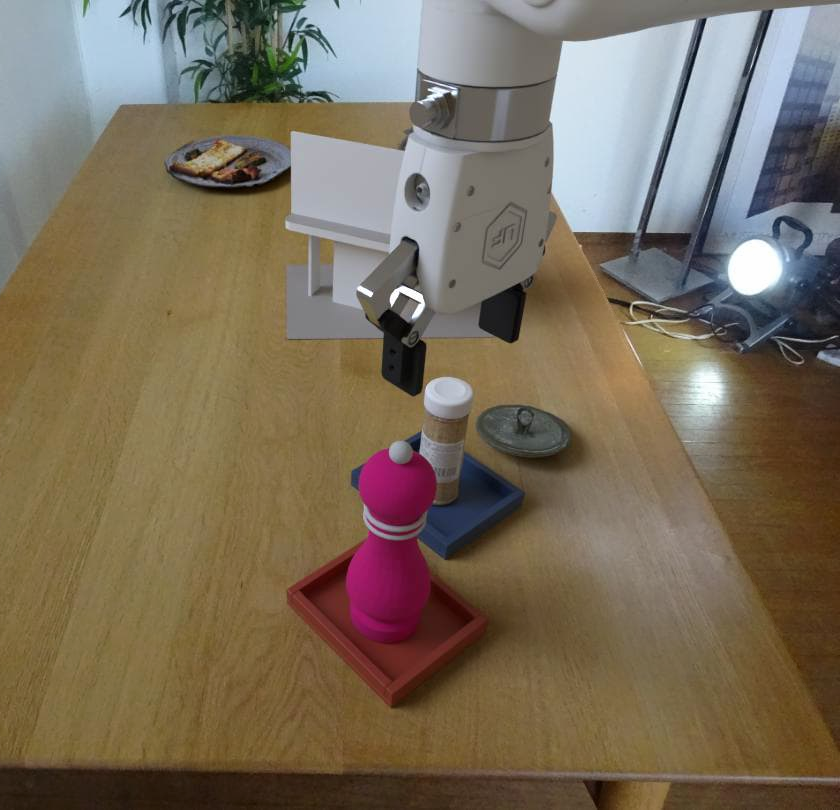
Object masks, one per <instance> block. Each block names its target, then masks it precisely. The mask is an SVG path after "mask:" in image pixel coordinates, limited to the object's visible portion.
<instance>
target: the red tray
mask: <svg viewBox="0 0 840 810" xmlns="http://www.w3.org/2000/svg"><path fill="white" fill-rule="evenodd" d="M366 539H367V537H366V538H365V539H363V540H361V541H360V542H358V543H357V544H355V545H354V546H352V547H350V548H349V549H347V550H346V551H344V552H342V553H341V554H340V555H338V556H336V557H335V558H333V559H332V560H330V561H329V562H327V563H326V564H324V565H322V566H321V567H319V568H318V569H316V570H315V571H313V572H311V573H309V574H308V575H307V576H305V577H304V578H302V579H300V580H299V581H297V582H295V583H294V584H293V585H291V586H289V587H287V589H286V604H287V605H288V606H289V607H290V608H291V609H292V610H293V611H294V613H296V614H297V615H298V616H299V617H300V618H301V619H302V620H303V621H304V622H305V623H306V624H307V625H308V626H309V628H311V629H312V630H313V631H314V632H315V634H316V635H318V636H319V637H320V639H322V641H324V642H325V644H326V645H328V646H329V647H330V648H331V649H332V650H333V651H334V653H336V655H337V656H339V657H340V658H341V660H342V661H344V662H345V664H346V665H348V666H349V668H351V670H353V671H354V672H355V674H356V675H357V676H359V678H361V680H362V681H364V683H365V684H366V685H367V686H368V687H369V688H370V689H371V690H372V691H373V692H374V693H375V694H376V695H377V696H378V697H379V698H380V699H381V700H382V701H383V702H384V703H385V704H386V705H387V706H388V707H389V708H391V709H392V708H394V706H395V705H397V704H398V703H399V702H400V701H402V700H403V699H404V698H405V697H407V696H408V695H409V694H411V693H412V692H413V691H414V690H415V689H417V688H418V687H419V686H421V685H422V684H423V683H424V682H426V681H427V680H428V679H429V678H431V677H432V676H433V675H434V674H436V673H437V672H438V671H439V670H441V669H442V668H443V667H444V666H446V665H447V664H448V663H450V662H451V661H452V660H454V659H455V658H456V657H457V656H459V654H461V653H462V652H463V651H465V650H466V649H467V648H468V647H469V646H471V645H472V644H473V643H475V641H477V640H478V639H479V638H481V637H482V636H484V635H485V634H486V633H487V628H488V623H489V617H487V616H486V615H485V614H484V613H483V612H481V611H480V610H479V609H477V607H475V606H474V605H473V604H471V603H470V602H469V601H468V600H467V599H465V598H464V597H463V596H462V595H461V594H459V593H458V592H457V591H456V590H454V589H453V588H452V587H451V586H449V584H447V583H446V582H445V581H443V580H442V579H441V578H440V577H439V576H437V575H436V574H435V573H434V572H433V571H432V570H430V569H429V572H430V594H429V598H428V600H427V602H426V604H425V605H424V607H423V608H422V610H421V618H420V623H419V626H418V628H417V629H416V631H415V632H414V633H413V634H412V635H411V636H410V637H408V638H406V639H404V640H402V641H399V642H394V643H381V642H377V641H373V640H371V639H369V638H367V637H365V636H364V635H363V634H361V633H360V632H359V631H358V630H357V629H356V627H355V626H354V624H353V622H352V620H351V616H350V603H351V599H350V598H349V595H348V593H347V588H346V577H347V572H348V567H349V565H350V562H351V560H352V558H353V556H354V555H355V553H356V552H357V550H358V549H359V548H360V547H361V546H362V545H363V543H364V542H365V540H366Z"/></svg>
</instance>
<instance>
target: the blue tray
mask: <svg viewBox="0 0 840 810" xmlns="http://www.w3.org/2000/svg"><path fill="white" fill-rule="evenodd" d="M421 435H422V430H421V431H418V432H417V433H415V434H413V435H412V436H410V437H408V438H406V439H404V441H405V442H407V443H409V444H410V446H411V447H412V450H413V451H416V452H417V453H420V444H421ZM364 465H365V463H363V464H361V465H359V466H358V467H356V468H354V469H352V470H351V471H350V472H351V473H350V485H351V486H352V487H353V488H354V489H356V490H357V491H358V492H359V478H360V474H361V471H362V468H363V466H364ZM525 495H526V491H524V490H523V489H521V488H520V487H518V486H517V485H515V484H514V483H512V482H510V481H509V480H507V478H505V477H504V476H502V475H500V474H499V473H498V472H496V471H494V470H492V468H490V467H488V466H487V465H485V464H484V463H482V462H481V461H479V460H478V459H477V458H475V457H474V456H472V455H471V454H469V453H468V452H466V451H465V450H464V457H463V463H462V469H461V472H460V477H459V484H458V496H457V498H456V499H455V500H454V501H453V502H451V503H449V504H446V505H431V507H430V508H429V509H428V510H427V516H426V524H425V527H424V528H423V530H422V531H421V532H420V533H419V534H418V535H417V540H418V541H421V542H422V543H423V544H425V545H426V546H427V547H428V548H429V549H430V550H432V551H433V552H434V553H435V554H437V555H438V556H440V558H442V559H443V560H447V559H449V558H450V557H451V556H453V555H454V554H456V553H457V552H459V551H460V550H461V549H463V548H464V547H466V546H467V545H469V544H470V543H471V542H473V541H474V540H476V539H478V537H480V536H481V535H483V534H484V533H486V532H487V531H489V530H490V529H492V528H493V527H495V526H496V525H497V524H498V523H500V522H501V521H503V520H504V519H506V518H507V517H508V516H510V515H512V514H513V513H514V512H515V511H517V510H518V509H520V508H522V507H523V505H524V504H523V503H524V500H525Z"/></svg>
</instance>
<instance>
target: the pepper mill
mask: <svg viewBox="0 0 840 810" xmlns="http://www.w3.org/2000/svg"><path fill="white" fill-rule="evenodd" d="M364 464H365V465H364V466H363V468H362V471H361V474H360V478H359V491H358V492H359V496H360V499H361V501H362V503H363V510H362V511H363V512H362V518H363V521H364V524H365V526H366V528H367V529H368V534H367V537H366V538H367V539H366V538H365V539H366V540H365V539H364V540H365V542H364V543H363V545H362V546H361V547H360V548H359V549H358V550H357V552H356V553H355V555H354V556H353V558H352V560H351V562H350V565H349V567H348V572H347V577H346V588H347V593H348V595H349V598H350V599H351V603H350V616H351V620H352V622H353V624H354V626H355V627H356V629H357V630H358V631H359V632H360V633H361V634H363V635H364V636H365V637H367V638H369V639H371V640H373V641H377V642H381V643H394V642H399V641H402V640H404V639H406V638H408V637H410V636H411V635H412V634H413V633H414V632H415V631H416V629H417V628H418V626H419V623H420V618H421V610H422V608H423V607H424V605H425V604H426V602H427V600H428V598H429V594H430V572H429V570H430V569H429V565H428V562H427V560H426V557H425V556H424V553H423V552H422V550H421V548H420V545H419V543H418V538H417V535H418V534H419V533H420V532H421V531H422V530H423V528H424V527H425V524H426V516H427V510H428V509H429V508H430V507H431V505H432V504H433V502H434V499H435V496H436V491H437V480H436V475H435V472H434V470H433V467H432V465H431V464H430V463H429V462H428V460H427V459H426V458H425V457H423V456H422V455H421V454H419V453H417V452H416V451H413V450H412V447H411V446H410V444H409V443H407V442H405V440H396V441H395V442H393V443H392V444H391V445H390V447H387V448H384V449H381V450H379V451H377V452H375V453H374V454H373V455H371V456H370V457H369V458H368V459H367V460H366V461H365V462H364Z"/></svg>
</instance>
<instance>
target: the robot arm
mask: <svg viewBox="0 0 840 810" xmlns="http://www.w3.org/2000/svg"><path fill="white" fill-rule="evenodd" d="M829 5H840V0H421V10H420V22H419V23H420V24H419V26H420V27H419V37H418V40H419V41H418V49H417V51H418V52H417V68H416V77H415V79H416V80H415V91H414V92H415V94H414V101H413V102H412V103H411V105H410V107H409V112H408V113H409V119H410V121H411V122H412V127H413V130H414V132H413V133H411V134H410V135H409V137H408V141H407V145H406V149H405V152H404V156H403V161H402V166H401V170H400V175H399V180H398V186H397V191H396V197H395V204H394V210H393V219H392V227H391V236H390V248H389V255H388V257H387V258H386V259H385V260H384V261H383V262H382V263H381V264H380V265H379V266H378V267H377V268H376V269H375V270H374V271H373V272H372V273H371V274H370V275H369V276H368V277H367V278H366V279H365V280H364V281H363V282H362V283H361V284H360V285H359V287H358V288H357V291H356V295H357V298H358V300H359V302H360V304H361V306H362V308H363V310H364V312H365V317H366V319H367V320H368V321H369V322H371V323H372V324H373V325H374V326H376V327H377V329H378V330H380V331H382V332H384V336H383V338H382V354H381V355H382V356H381V369H380V370H381V373H380V374H381V376H382V378H383V379H384V380H385V381H386V382H388V383H390V384H391V385H393V386H394V387H396V388H397V389H399V390H401V391H403V392H404V393H406V394H407V395H409V396H410V397H416V396H418V395H420V394H421V393H422V391H423V388H424V379H425V369H426V358H427V357H426V356H427V347H428V346H427V342H425V341H424V340H422V338H421V336H422V335H423V333H424V331H425V329H426V328H427V326H428V324H429V323H430V321H431V319H432V317H433V316H434V314H435V312H436V313H437V314H439V315H444V316H447V315H452V314H455V313H457V312H460V311H462V310H464V309H467V308H469V307H471V306H473V305H475V304H477V303H479V302H481V309H480V316H479V324H478V325H479V328H480V329H482V330H484V331H486V332H488V333H490V334H492V335H494V337H495V338H498V339H499V340H501V341H504V342H505V343H508V344H514V343H515V342H517V341H518V340H519V338H520V333H521V327H522V322H523V316H524V310H525V307H526V306H525V305H526V299H527V292H526V291H527V290H529V289H530V288H531V287H532V286H533V284H534V282H535V279H536V278H535V273H536V272H537V271H538V269H539V268H540V266H541V262H542V260H543V257H544V256H545V254H546V243H547V241H548V240H549V237H550V235H551V232H552V231H553V228H554V226H555V224H556V223H557V218H558V216H557V215H558V214H556V212H553V211H551V210H550V207H551V199H552V198H551V197H552V189H553V179H554V160H555V159H554V157H555V156H554V155H555V154H554V152H555V151H554V149H555V147H554V129H553V128H554V127H553V123H552V122H551V121H550V119H551V114H552V108H553V101H554V96H555V90H556V84H557V77H558V72H559V66H560V61H561V54H562V50H563V49H562V48H563V45H564V42H574V43H575V42H576V43H577V42H588V41H595V40H596V41H597V40H601V39H605V38H611V37H615V36H616V37H617V36H621V35H627V34H631V33H637V32H640V31H644V30H648V29H652V28H657V27H662V26H668V25H672V24H678V23H685V22H689V21H695V20H703V19H709V18H715V17H720V16H726V15H732V14H733V15H734V14H741V13H742V14H743V13H750V12H759V11H770V10H780V9H781V10H782V9H793V8H805V7H806V8H807V7H817V6H818V7H819V6H829ZM418 286H420V289H421V292H419V291H417V290H415V289H413V288H415V287H418ZM409 299H410V300H412V301H414V302H416V303H418V304H419V306H418V307H417V309H416V311H415V312H414V314H413V316H412V318H411V319H410V321H409V323H408V322H407V321H406V320H404V319H403V318H402V317H401V316H400V314H401V313H402V311H403V309H404V308H405V306H406V304H407V302H408V301H409Z"/></svg>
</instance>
